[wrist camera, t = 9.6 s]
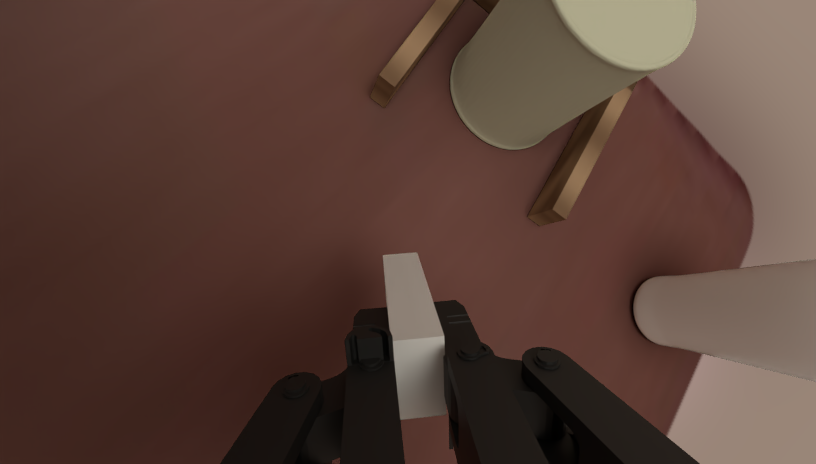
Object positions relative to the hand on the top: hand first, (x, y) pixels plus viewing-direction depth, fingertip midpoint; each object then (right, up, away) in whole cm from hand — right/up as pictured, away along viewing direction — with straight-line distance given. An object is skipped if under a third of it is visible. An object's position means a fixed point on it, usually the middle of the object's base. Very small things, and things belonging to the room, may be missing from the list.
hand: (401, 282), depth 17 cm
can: (+8, +13, +13) cm, 20 cm away
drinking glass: (+20, -4, +14) cm, 25 cm away
